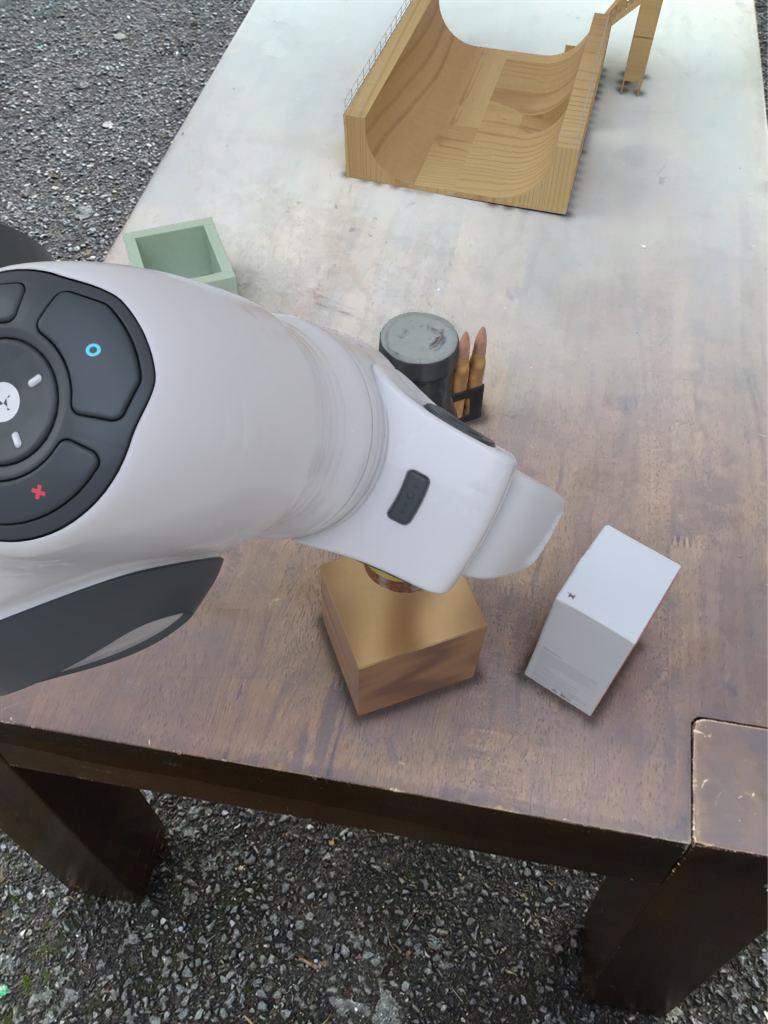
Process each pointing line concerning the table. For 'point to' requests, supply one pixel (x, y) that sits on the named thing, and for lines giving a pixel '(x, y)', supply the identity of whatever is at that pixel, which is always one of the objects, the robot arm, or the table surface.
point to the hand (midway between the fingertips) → (418, 442)
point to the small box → (600, 618)
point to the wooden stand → (398, 635)
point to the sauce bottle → (420, 378)
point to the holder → (183, 252)
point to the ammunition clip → (469, 377)
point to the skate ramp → (482, 110)
